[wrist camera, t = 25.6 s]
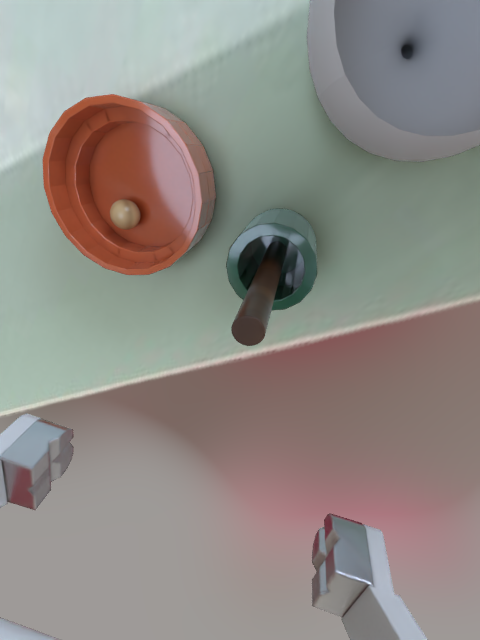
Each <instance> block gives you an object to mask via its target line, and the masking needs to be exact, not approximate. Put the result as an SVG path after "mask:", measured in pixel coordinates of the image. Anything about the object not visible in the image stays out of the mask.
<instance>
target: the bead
mask: <svg viewBox="0 0 480 640" xmlns="http://www.w3.org/2000/svg"><path fill="white" fill-rule="evenodd" d="M140 216H141V215H140V210H139V208H138V207H137V205H136V204H135V203H134V202H132V201H130V200H127V199H121V200H118V201H116V202H115V203H113V205H112V206H111V209H110V217H111V220H112V222H113V223H114V224H115V225H116V226H117V227H119V228H121V229H125V230H128V229H132V228H134V227H136V226H137V225H138V223H139V221H140Z"/></svg>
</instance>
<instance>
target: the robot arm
mask: <svg viewBox="0 0 480 640" xmlns="http://www.w3.org/2000/svg"><path fill="white" fill-rule="evenodd" d="M72 438H73V429H70V428H67V427H64V426H61V425H59V424H55V423H53V422H50V421H47V420H44V419H42V418H39V417H36V416H33V415H30V414H27V413H26V414H24V415H22V416H20V417H19V418H18V419H17V420H16V421H14V422H13V423H12V424H11V425H10V426H9V427H8V428H7V429H5V430H4V431H3V432H2V433H1V434H0V508H1V507H3V506H4V505H6V504H7V503H8V502H10V503H13V504H17V505H20V506H23V507H27V508H30V509H33V510H36V509H37V507H38V506H39V505H40V503H41V502H42V501H43V500H44V498H45V497H46V496H47V494H48V493H49V492H50V491H51V482H52V481H54V480H56V479H58V478H60V477H61V476H62V475H63V474H64V472H65V471H66V469H67V468H68V466H69V464H70V462H71V459H72V456H73V446H72V444H71V443H70V441H71V439H72ZM312 563H313V565H314V567H315V569H316V571H317V572H316V574H315V576H314V578H313V579H312V606H313V607H316V608H319V609H321V610H324V611H326V612H329V613H332V614H334V615H337V616H340V617H342V622H343V624H344V626H345V629H346V631H347V634H348V636H349V638H350V640H428V639H427V638H426V636H425V635H424V634H423V631H422V630H421V628H420V627H419V625H418V624H417V622H416V621H415V619H414V617H413V616H412V614H411V613H410V611H409V610H408V608H407V606H406V605H405V604H404V602H403V600H402V599H401V597H400V596H399V595H396V594H394V590H393V585H392V579H391V574H390V569H389V564H388V558H387V553H386V548H385V542H384V537H383V533H382V532H381V530H379V529H377V528H373V527H370V526H367V525H363V524H362V523H359V522H356V521H353V520H350V519H347V518H343V517H340V516H337V515H333V514H328V515H327V516H326V518H325V520H324V527H323V528H320V529H319V530H318V532H317V534H316V536H315V540H314V543H313V552H312ZM0 640H61V639H58V638H55V637H52V636H49V635H47V634H44V633H41V632H39V631H36V630H34V629H31V628H28V627H25V626H23V625H19V624H17V623H15V622H12V621H9V620H6V619H4V618H1V617H0Z"/></svg>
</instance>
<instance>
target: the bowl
mask: <svg viewBox="0 0 480 640" xmlns="http://www.w3.org/2000/svg"><path fill="white" fill-rule="evenodd" d="M43 179H44V189H45V192H46V195H47V199H48V202H49V205H50V208H51V212H52V214H53V216H54V217H55V219H56V221H57V223H58V224H59V226H60V228H61V229H62V231H63V233H64V234H65V236H66V237H67V238H68V239H69V240H70V241H71V242H72V243H73V244H74V245H75V246H76V248H77V249H78V250H79V251H80V252H81V253H82V254H83V255H84V256H86V257H88V258H89V259H91V260H92V261H94V262H96V263H97V264H99V265H100V266H102V267H104V268H106V269H109V270H112V271H116V272H119V273H122V274H126V275H147V274H152V273H154V272H157V271H160V270H162V269H165V268H167V267H170V266H171V265H172V264H173V263H175V262H176V261H177V260H178V259H179V258H181V257H182V256H183V255H184V254H186V253H187V252H188V251H189V250H190V249H191V248H192V247H193V246H195V245H196V244H197V243H198V242H199V241H200V240H201V239H202V237H203V235H204V233H205V231H206V230H207V228H208V226H209V224H210V222H211V220H212V215H213V210H214V204H215V199H216V192H215V183H214V173H213V169H212V166H211V164H210V161H209V159H208V156H207V154H206V151H205V149H204V147H203V145H202V143H201V142H200V141H199V139H198V138H197V137H196V136H195V134H194V133H193V132H192V130H191V129H190V128H189V127H188V125H187V124H186V123H185V122H183V121H182V120H181V119H179V118H178V117H176V116H175V115H173V114H172V113H170V112H169V111H167V110H166V109H165V108H163V107H159V106H155V105H152V104H148V103H144V102H141V101H137V100H133V99H129V98H126V97H122V96H118V95H114V94H110V95H103V96H95V97H88V98H85V99H83V100H82V101H80V102H78V103H77V104H75V105H74V106H72V107H70V108H69V109H67V110H66V111H64V112H63V114H62V115H61V117H60V118H59V120H58V121H57V123H56V124H55V126H54V127H53V128H52V130H51V131H50V133H49V137H48V141H47V144H46V148H45V152H44V156H43ZM121 199H127V200H130V201H132V202H134V203H135V204H136V205H137V207H138V208H139V210H140V215H141V216H140V221H139V223H138V225H137V226H136V227H134V228H132V229H128V230H125V229H121V228H119V227H117V226H116V225H115V224H114V223H113V222H112V220H111V217H110V209H111V206H112V205H113V203H115V202H116V201H118V200H121Z"/></svg>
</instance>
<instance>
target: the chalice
mask: <svg viewBox="0 0 480 640" xmlns="http://www.w3.org/2000/svg"><path fill="white" fill-rule="evenodd" d="M307 46H308V57H309V68H310V72H311V76H312V79H313V83H314V86H315V89H316V93H317V96H318V99H319V101H320V103H321V105H322V106H323V108H324V110H325V112H326V114H327V115H328V117H329V119H330V121H331V122H332V123H333V124H334V125H335V126H336V127H337V128H338V130H339V131H340V132H341V133H342V134H343V135H344V136H345V137H346V138H347V139H348V140H349V141H351V142H353V143H354V144H356V145H357V146H359V147H361V148H362V149H364V150H365V151H367V152H369V153H371V154H374V155H378V156H381V157H384V158H388V159H391V160H394V161H414V162H424V161H429V160H435V159H440V158H445V157H451V156H454V155H456V154H459V153H461V152H464V151H466V150H469V149H471V148H474V147H476V146H479V145H480V0H310V7H309V18H308V28H307Z"/></svg>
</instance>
